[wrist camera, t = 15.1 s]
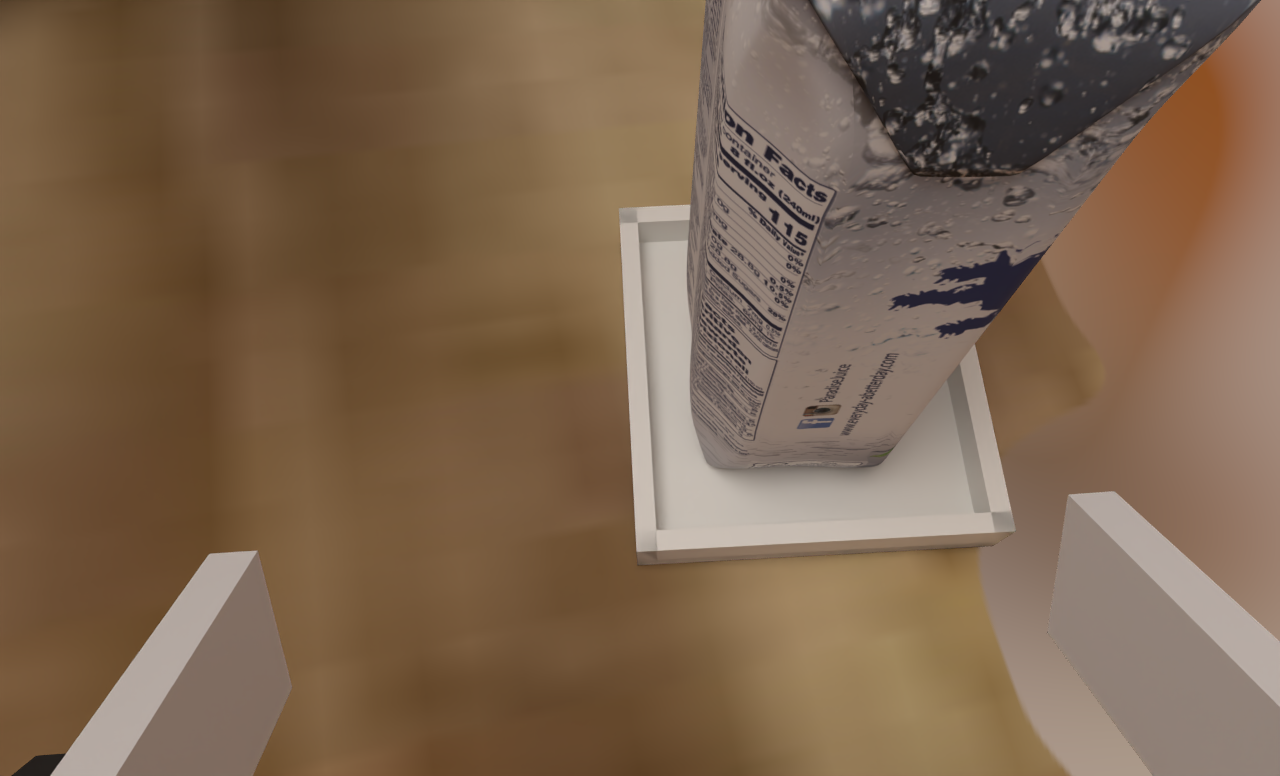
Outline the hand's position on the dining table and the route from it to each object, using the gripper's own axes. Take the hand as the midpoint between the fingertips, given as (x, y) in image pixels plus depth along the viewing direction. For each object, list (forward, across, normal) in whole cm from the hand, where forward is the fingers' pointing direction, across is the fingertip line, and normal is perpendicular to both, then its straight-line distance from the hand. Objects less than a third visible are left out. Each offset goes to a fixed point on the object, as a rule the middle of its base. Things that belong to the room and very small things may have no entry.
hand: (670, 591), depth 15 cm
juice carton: (+24, +7, -6) cm, 25 cm away
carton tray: (+24, +7, -6) cm, 26 cm away
